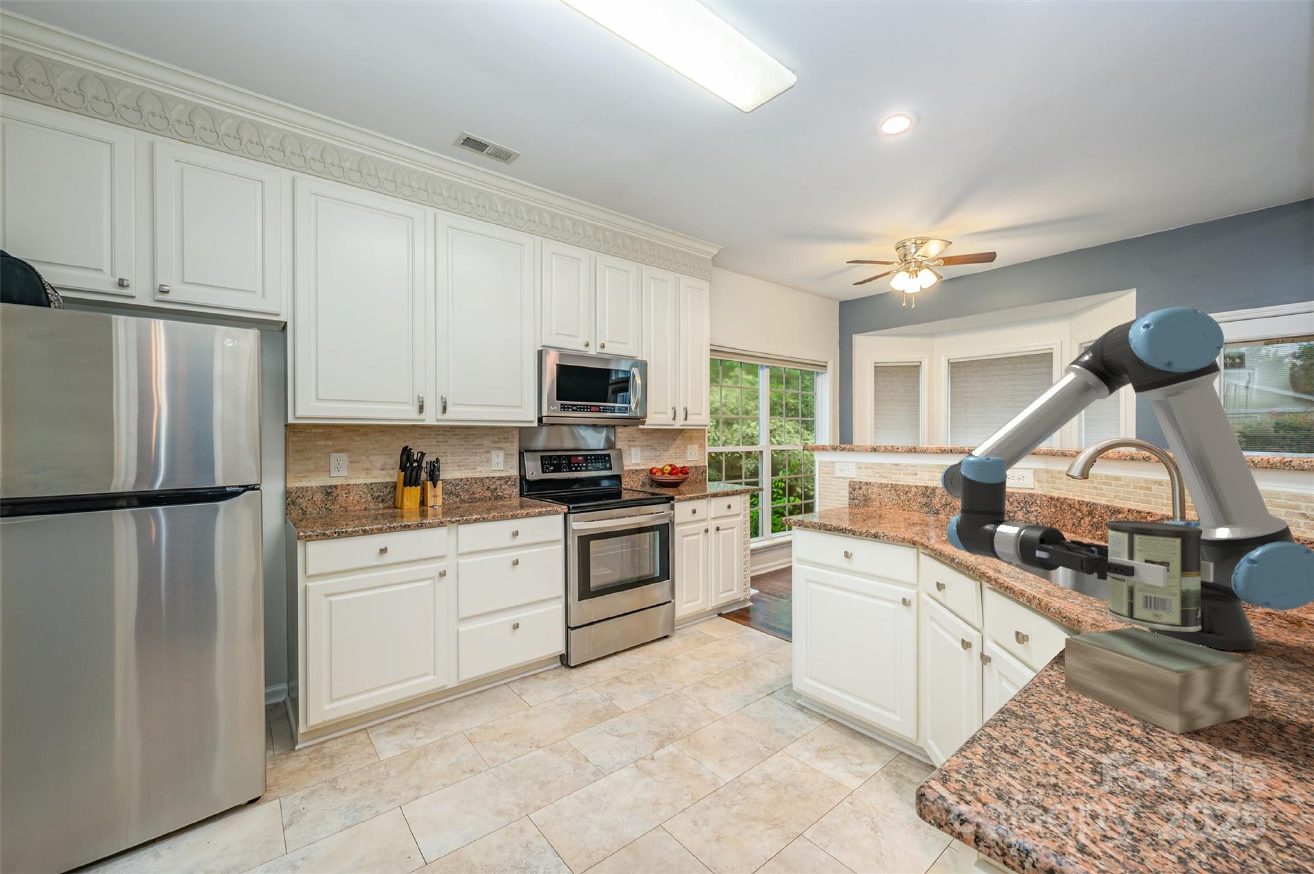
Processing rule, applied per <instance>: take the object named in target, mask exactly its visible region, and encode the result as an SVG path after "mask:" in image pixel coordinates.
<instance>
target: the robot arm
mask: <svg viewBox="0 0 1314 874" xmlns="http://www.w3.org/2000/svg"><path fill="white" fill-rule="evenodd" d="M1224 335H1225V334H1224V331H1223V330H1222V327H1221V326H1220V324H1219V323H1218V322H1217V320H1215V319H1214V318H1213V317H1212V316H1211V315H1209V314H1207V313H1206V312H1204V311H1201V310H1197V309H1194V308H1191V307H1184V306H1176V307H1174V306H1173V307H1169V308H1163V309H1159V310H1156V311H1151V312H1149V313H1147V314H1145V315H1141V316H1139V317H1137V318H1134V319H1132V320H1130V321H1128V322H1125V323H1122V324H1119V325H1117V326H1114V327H1112V328H1111V329H1110V330H1108V331H1106V332H1105V333H1103V334H1102V335H1101V336H1100V337H1099V338H1097V339H1096V340H1095V341H1094V342H1093V343H1091V345H1090V346H1088V347H1087V348H1086V349H1085V350H1084V351H1083V352H1082V353H1080V355H1078V356H1077V357H1076V358H1075V359H1074V360H1073V361H1071V362H1070V363H1069V364H1068V365H1067V366H1066V367H1065V368H1064V375H1062V377H1060V378H1059V379H1058V380H1056V381H1055V382H1054V383H1053V384H1052V385H1051V386H1049V387H1048V388H1047V389H1046V390H1045V391H1043V392H1042V393H1041V394H1039V395H1038V396H1037V397H1036V398H1034V399H1033V400H1032V401H1031V402H1030V403H1029V404H1027V405H1026V406H1025V407H1024V408H1023V409H1022V410H1020V411H1019V412H1018V413H1016V415H1014V416H1013V417H1012V418H1011V419H1009V420H1008V421H1007V422H1006V423H1005V424H1004V425H1002V426H1001V427H999V429H997V430H996V431H995V432H993V433H992V435H990V436H988V437H987V438H986V439H985V440H984V441H983V442H982V443H980V444H978V446H976V448H974V449H973V450H972V451H970V452H969V453H968V454H967V455H966V456H965V457H963V458H961V460H959V462H956V463H954V464H951V465H949V466H947V467H945V469H944V470H943V472H942V473H941V477H940V483H941V486H942V488H943V490H944V491H945V493H946V492H947V493H948V494H949V495H950V496H953V497H954V498H956V499H960V513H958V514H955V515H953V516H952V517H951V518H950V520H949V521H948V522H949V524H948V526H947V527H946V538H947V540H948V542H949V544H950V545H951V546H952V547H953V548H954V549H956V550H957V551H958V550H959V551H962V552H965V553H969V554H971V555H974V556H981V557H987V558H991V559H994V560H995V559H996V560H1000V561H1004V562H1009V563H1010V562H1012V566H1014V567H1019V565H1023V566H1028V567H1031V568H1034V569H1039V570H1043V571H1048V572H1051V571H1055V570H1057V569H1059V568H1060V567H1061V568H1064V569H1068V570H1071V571H1076V572H1079V573H1083V574H1085V575H1090V576H1091V575H1094V574H1096V575H1097V576H1096V579H1098V580H1103V581H1108V573H1109V576H1113V577H1118V578H1122V579H1127V580H1132V581H1137V582H1141V583H1146V584H1151V585H1156V586H1160V587H1166V586H1167V567H1164V566H1159V565H1153V564H1147V563H1142V562H1136V561H1131V560H1125V559H1120V558H1114V557H1110V558H1109V562H1108V545H1104V544H1101V543H1100V544H1099V543H1094V542H1084V541H1082V540H1078V539H1077V540H1075V539H1070V541H1069V540H1067V539H1066V537H1065V535H1064V533H1063V532H1062V531H1060V530H1059V529H1058V528H1056V527H1053V526H1045V525H1040V524H1039V525H1038V524H1032V523H1028V522H1021V521H1013V520H1006V503H1007V500H1006V499H1007V498H1006V496H1007V494H1006V493H1007V492H1006V491H1007V479H1008V474H1007V472H1008V471H1009V470H1010V469H1012V468H1013V467H1014V466H1015V465H1016V464H1018V463H1020V461H1021V460H1023V459H1024V458H1026V456H1028V455H1029V454H1030V453H1031V452H1033V451H1034V450H1035V449H1036V448H1037V447H1039V446H1040V445H1042V444H1043V443H1044V442H1045V441H1046V440H1048V438H1050V437H1051V436H1053V435H1054V434H1055V433H1057V432H1058V431H1059V430H1060V429H1061V428H1063V427H1064V426H1065V425H1066V424H1068V423H1069V422H1071V420H1072V419H1074V418H1075V417H1076V416H1077V415H1079V414H1080V413H1081V412H1082V411H1084V410H1086V408H1087V407H1089V406H1090V405H1091V404H1092V403H1094V402H1095V401H1096V400H1105V399H1107V398H1109V397H1110V396H1111V395H1112V394H1114V393H1116V392H1117V391H1118V390H1120V389H1121V388H1123V387H1125V386H1128V385H1130V384H1131V386H1132V389H1133V391H1134V393H1135V395H1136V396H1139V397H1141V398H1145V399H1147V400H1148V401H1149V402H1150V404H1151V407H1152V409H1153V411H1154V414H1155V416H1156V419H1157V421H1158V424H1159V426H1160V428H1161V431H1162V432H1163V436H1164V438H1165V440H1166V442H1167V444H1168V448H1169V449H1170V451H1171V454H1172V457H1173V459H1174V461H1175V464H1176V466H1177V468H1178V471H1179V473H1180V476H1181V478H1182V480H1183V483H1184V484H1185V488H1186V490H1187V492H1188V494H1189V495H1188V496H1189V497H1190V499H1191V501H1192V504H1193V507H1194V509H1195V511H1196V513H1197V516H1198V517H1199V518H1198V519H1199V521H1192V520H1191V521H1190V520H1167V521H1164V522H1163V523H1167V524H1177V525H1184V526H1191V527H1196V528H1200V529H1202V535H1201V630H1199V631H1196V632H1178V631H1168V630H1161V629H1155V628H1149V627H1147V629H1148V628H1149V629H1150V630H1151V631H1150V630H1149V629H1148V630H1149V631H1150V632H1152V631H1153V633H1154V632H1156V633H1157V634H1161V635H1164V636H1168V637H1171V638H1175V639H1179V640H1182V641H1186V642H1189V643H1193V644H1197V645H1202V646H1207V648H1209V647H1214V648H1213V649H1215V648H1217V649H1216V650H1223V649H1225V651H1233V650H1249V651H1253V649H1254V650H1256V647H1257V639H1256V638H1257V637H1256V634H1255V632H1254V630H1253V628H1252V625H1251V623H1250V621H1249V618H1248V615H1247V612H1246V611H1245V609H1244V606H1243V602H1245V603H1246V604H1248V605H1252V606H1255V607H1261V608H1266V609H1269V610H1270V609H1271V610H1277V611H1286V610H1295V609H1299V608H1302V607H1305V606H1306V605H1308V604H1310V603H1311V602H1313V601H1314V550H1312V549H1310V548H1309V547H1307V546H1306V545H1303V544H1301V543H1298V542H1296V540H1295V538H1294V536H1293V534H1292V531H1291V530H1290V526H1289V525H1288V523H1287V521H1286V520H1285V519H1281V518H1279V517H1277V516H1275V515H1272V514H1271V513H1270V512H1269V510H1268V508H1267V505H1266V503H1265V501H1264V498H1263V497H1262V494H1261V491H1260V490H1259V486H1258V485H1257V482H1256V480H1255V478H1254V476H1253V475H1254V474H1252V470H1251V468H1250V466H1249V464H1248V462H1247V460H1246V457H1245V455H1244V452H1243V450H1242V448H1241V445H1240V444H1239V441H1238V438H1237V436H1236V433H1235V431H1234V429H1233V427H1232V425H1231V423H1230V420H1229V418H1228V415H1227V414H1226V411H1225V408H1224V406H1223V404H1222V401H1221V399H1220V398H1219V397H1220V396H1219V394H1218V393H1217V391H1216V390H1217V389H1216V388H1215V386H1214V383H1215V380H1216V379H1217V378H1218V377H1219V375H1220V374H1221V369H1220V366H1219V364H1218V361H1217V358H1218V357H1219V356H1220V355H1221V351H1222V349H1223V348H1224V346H1225V345H1224V344H1225V336H1224Z"/></svg>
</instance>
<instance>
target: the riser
mask: <svg viewBox="0 0 1314 874" xmlns="http://www.w3.org/2000/svg"><path fill="white" fill-rule="evenodd" d="M1064 640H1065V641H1064V643H1065V644H1064V688H1065V689H1067V690H1069V691H1073V692H1075V693H1077V694H1080V695H1083V696H1085V697H1087V698H1090V699H1092V700H1093V701H1097V702H1099V703H1102V704H1103V705H1106V706H1109V707H1110V708H1114V709H1116V710H1118V711H1121V712H1123V713H1126V714H1128V715H1131V716H1133V717H1136V718H1138V719H1140V720H1143V721H1145V722H1148V723H1150V724H1153V725H1155V726H1157V727H1159V728H1162V729H1165V730H1167V731H1170V732H1172V733H1174V734H1177V735H1180V734H1185V733H1188V732H1192V731H1197V730H1200V729H1205V728H1208V727H1210V726H1211V727H1212V726H1216V725H1218V724H1222V723H1227V722H1231V721H1234V720H1238V719H1241V718H1242V719H1243V718H1245V717H1250V660H1247V659H1243V656H1239V655H1236V654H1232V653H1228V652H1226V651H1221V650H1219V649H1215V648H1209V647H1204V646H1200V645H1197V644H1193V643H1189V642H1186V641H1182V640H1179V639H1175V638H1171V637H1168V636H1164V635H1161V634H1157V633H1154V632H1152V631H1150V630H1146V629H1142V628H1138V627H1135V626H1132V627H1125V628H1117V629H1111V630H1104V631H1099V632H1091V633H1084V634H1078V635H1071V636H1070V637H1065V638H1064Z"/></svg>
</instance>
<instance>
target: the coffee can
mask: <svg viewBox="0 0 1314 874" xmlns="http://www.w3.org/2000/svg"><path fill="white" fill-rule="evenodd" d="M1106 524H1107V527H1108V530H1107V533H1108V536H1107V537H1108V538H1107V540H1108V541H1107V544H1108V545H1107V546H1108V562H1109V558H1110V557H1114V558H1120V559H1125V560H1131V561H1136V562H1142V563H1147V564H1153V565H1159V566H1164V567H1167V586H1166V587H1160V586H1156V585H1151V584H1146V583H1141V582H1137V581H1132V580H1127V579H1122V578H1118V577H1113V576H1109V573H1108V572H1107V597H1108V598H1107V614H1108V616H1111V617H1112V618H1114V619H1116V620H1119V621H1122V622H1125V623H1129V624H1133V625H1136V626H1138V627H1139V626H1140V627H1145V628H1148V627H1149V628H1155V629H1161V630H1168V631H1178V632H1196V631H1199V630H1201V535H1202V529H1200V528H1196V527H1191V526H1184V525H1177V524H1167V523H1164V522H1158V521H1157V522H1155V521H1144V520H1143V521H1142V520H1141V521H1139V520H1121V519H1120V520H1107V522H1106Z"/></svg>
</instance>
